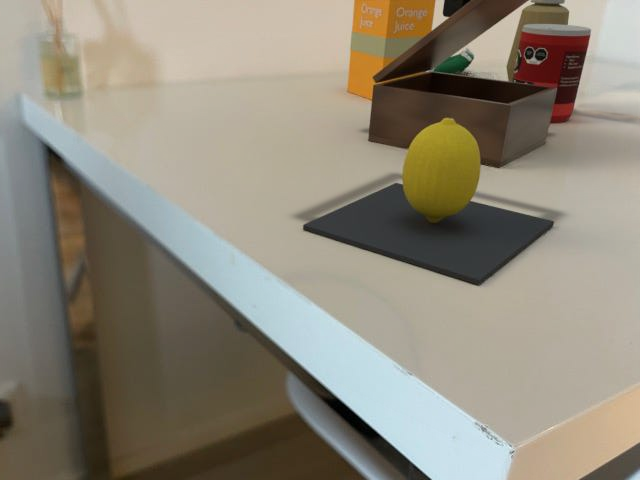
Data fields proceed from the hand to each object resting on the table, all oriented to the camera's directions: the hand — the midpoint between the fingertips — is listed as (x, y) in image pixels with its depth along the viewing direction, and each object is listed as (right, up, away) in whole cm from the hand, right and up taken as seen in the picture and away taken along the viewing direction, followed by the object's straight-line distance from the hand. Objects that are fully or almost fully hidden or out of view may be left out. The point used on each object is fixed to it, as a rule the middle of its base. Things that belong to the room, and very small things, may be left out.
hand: (459, 16), depth 70 cm
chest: (+1, -12, +5) cm, 13 cm away
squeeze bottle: (+21, +1, +32) cm, 38 cm away
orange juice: (-2, 0, +29) cm, 29 cm away
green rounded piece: (+13, +9, +46) cm, 49 cm away
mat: (-8, -24, -19) cm, 31 cm away
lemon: (-8, -24, -19) cm, 31 cm away
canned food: (+16, -6, +17) cm, 24 cm away
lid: (+1, -2, 0) cm, 2 cm away
